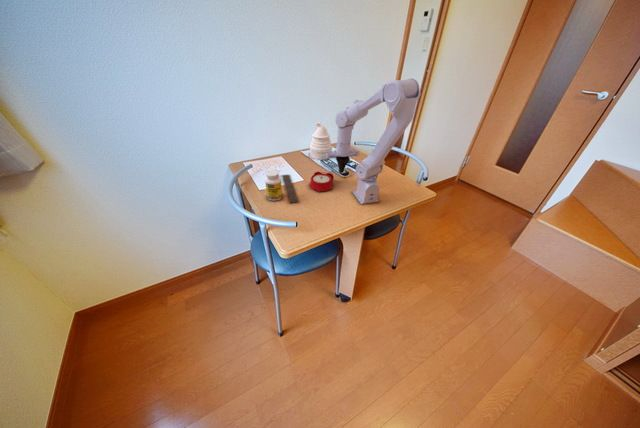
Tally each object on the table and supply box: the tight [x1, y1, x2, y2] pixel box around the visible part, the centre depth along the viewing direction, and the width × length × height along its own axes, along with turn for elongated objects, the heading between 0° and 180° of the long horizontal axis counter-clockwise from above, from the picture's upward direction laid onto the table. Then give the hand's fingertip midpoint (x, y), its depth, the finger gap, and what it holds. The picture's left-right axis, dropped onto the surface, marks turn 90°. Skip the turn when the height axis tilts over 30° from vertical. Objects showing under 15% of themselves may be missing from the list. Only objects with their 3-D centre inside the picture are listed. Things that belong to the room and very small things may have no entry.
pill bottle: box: [264, 170, 283, 202], centre depth 88 cm, size 6×6×11 cm
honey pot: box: [309, 121, 333, 160], centre depth 123 cm, size 13×13×18 cm
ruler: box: [282, 174, 299, 204], centre depth 97 cm, size 24×3×1 cm, turn 16°
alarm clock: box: [309, 171, 335, 193], centre depth 99 cm, size 10×6×15 cm
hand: (341, 171), depth 100 cm, fingers closed
